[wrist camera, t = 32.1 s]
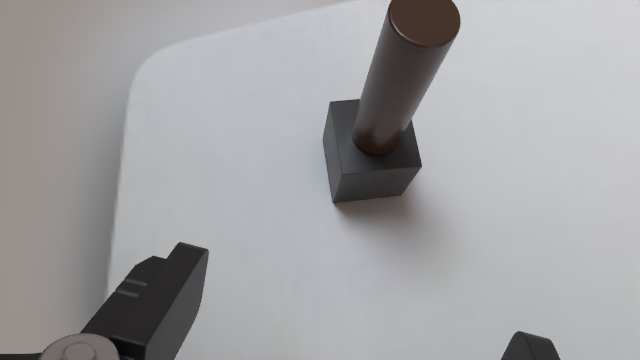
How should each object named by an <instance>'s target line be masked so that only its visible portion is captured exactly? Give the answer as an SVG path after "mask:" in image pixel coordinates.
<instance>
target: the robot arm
mask: <svg viewBox="0 0 640 360" xmlns="http://www.w3.org/2000/svg"><path fill="white" fill-rule="evenodd" d="M208 255H209V251H208V249H205V248H201V247H197V246H194V245H190V244H186V243H182V242H179V243H178V244H177V245H176V247H175V248H174V249H173V251H172V252H171V253H170V255H169V256H168V257H167V259H164V258H160V257H156V256H152V257H150V258H148V259H146V260H144V261H143V262H141V263H139V264H137V265H135V267H134V268H133V269H132V270H131V272H130V273H129V274H128V275H127V276H126V278H125V280H124V281H122V282H121V284H120V285H119V286H118V287H117V288H116V291H115V292H113V293H112V295H111V296H110V297H109V298H108V299H107V301H106V302H105V303H104V304H103V305H102V307H101V308H100V309H99V310H98V312H97V313H96V314H95V315H94V316H93V318H92V319H91V320H90V321H89V322H88V324H87V325H86V326H85V327H84V329H83V330H82V331H81V332H80V333H79V334H74V335H69V336H66V337H63V338H61V339H59V340H57V341H55V342H53V343H52V344H50V345H49V346H48V347H47V348H46V349H45V350H44V351H43V352H42V353H35V354H0V360H174V358H175V357H176V355H177V353H178V351H179V349H180V347H181V345H182V343H183V341H184V340H185V338H186V336H187V334H188V332H189V330H190V328H191V326H192V324H193V322H194V320H195V318H196V316H197V313H198V310H199V307H200V303H201V299H202V293H203V287H204V281H205V275H206V268H207V262H208ZM501 360H560V358H559V356H558V353H557V351H556V349H555V347H554V345H553V343H552V341H551V340H550V339H548V338H544V337H540V336H536V335H532V334H528V333H524V332H521V331H518V332H516V333H515V334H514V335H513V337H512V339H511V341H510V343H509V345H508V347H507V349H506V351H505V353H504V355H503V357H502V359H501Z"/></svg>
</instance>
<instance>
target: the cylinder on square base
mask: <svg viewBox="0 0 640 360" xmlns="http://www.w3.org/2000/svg"><path fill="white" fill-rule="evenodd" d="M459 29H460V14H459V11H458V9H457V7H456V5H455V4H454V3H453V1H452V0H392V1H391V3H390V5H389V8H388V11H387V14H386V17H385V20H384V24H383V27H382V30H381V33H380V37H379V40H378V43H377V46H376V50H375V53H374V56H373V59H372V62H371V66H370V69H369V72H368V75H367V79H366V82H365V85H364V88H363V92H362V95H361V98H360V99H357V100H345V101H333V102H330V105H329V110H328V115H327V120H326V125H325V130H324V135H323V145H324V151H325V158H326V164H327V170H328V177H329V183H330V190H331V196H332V202H333V203H336V202H345V201H354V200H363V199H372V198H381V197H390V196H399V195H402V193H403V192H404V191H405V189H406V188H407V186H408V185H409V184H410V182H411V181H412V180H413V178H414V177H415V175H416V174H417V173H418V171H419V170H420V169H421V167H422V164H421V159H420V155H419V150H418V146H417V142H416V137H415V133H414V128H413V124H412V117H413V115H414V113H415V111H416V110H417V108H418V106H419V104H420V102H421V100H422V98H423V97H424V95H425V93H426V91H427V89H428V87H429V86H430V84H431V82H432V80H433V78H434V76H435V75H436V73H437V71H438V69H439V67H440V65H441V63H442V62H443V60H444V58H445V56H446V54H447V52H448V51H449V49H450V47H451V45H452V43H453V41H454V40H455V38H456V36H457V34H458V32H459Z"/></svg>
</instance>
